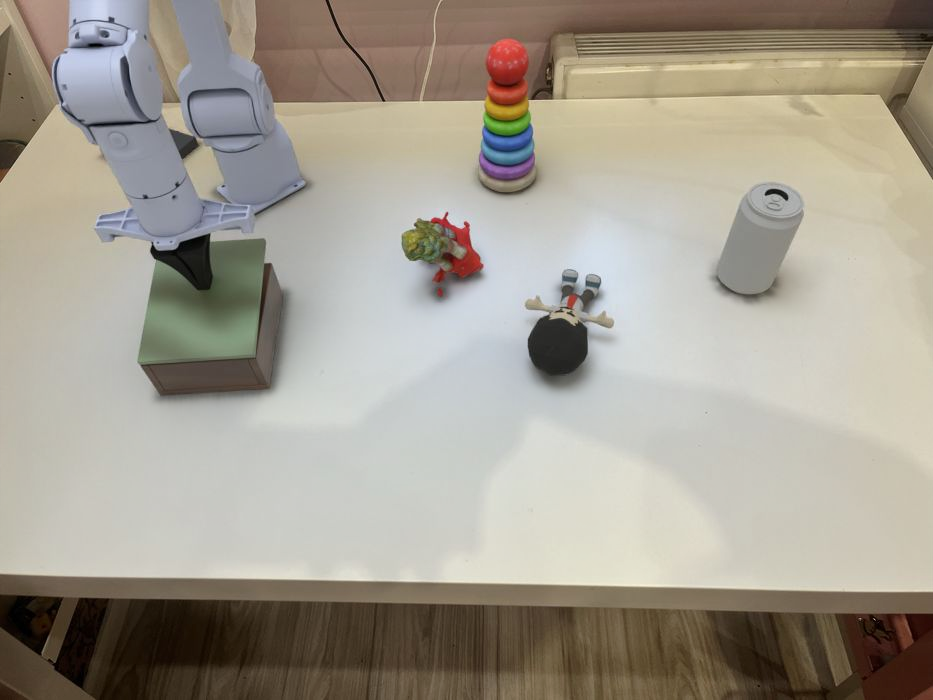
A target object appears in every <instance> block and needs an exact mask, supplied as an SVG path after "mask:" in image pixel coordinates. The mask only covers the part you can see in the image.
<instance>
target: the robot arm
mask: <svg viewBox="0 0 933 700" xmlns="http://www.w3.org/2000/svg"><path fill="white" fill-rule="evenodd" d="M68 1H69V2H68V35H67V36H68V38H67V41H68V43H67V47H66V48H64V49H63V50H62V52H63V53H61V54H60V55H57V56H56V57H55V58H54V60H53V63H52V66H51V79H52V86H53V89H54V92H55V96H56V98H57V101H58V103H59V106H58V107H59V110H60V111H61V113H62V114H63V116H64V117H65V119H66V120H68V122H69V123H71V124H72V125H73V126H75V127H77V128H79V129H80V130H81V132H82V133H83V135H84V137H85V139H86V140H87V143H90V144H91V145H94V146H97V147H98V148H99V150H100V149H101V150H100V152H101V151H102V152H101V153H103V154H102V156H103V155H104V156H103V157H104V158H105V160H106V163H107V165H108V167H109V168H110V170H111V171H112V173H113V175H114V177H115V179H116V181H117V183H118V185H119V186H120V188H121V190H122V192H123V194H124V195H125V197H126V199H127V201H128V203H129V205H130V207H129V208H125V209H121V210H117V211H113V212H108V213H107V212H106V213H99V214H98V216H97V218H96V220H95V223H94V225H93V230H94V231H95V233H96V235H97V236H98V238H99V240H100V241H101V243H112V242H114V241H115V238H131V239H136V240H140V241H145V242H150V243H151V246H150V248H149V253H150V255H151V257H152V258H153V259H154V260H155V261H156V260H158V261H161V262H163V263H165V264H167V265H168V266H170V267H172V268H173V269H175V270H176V271H177V272H179V273H180V274H181V275H182V276H183V277H185V278H186V279H187V280H188V281H189V282H190V283H191V284H192V285H193V286H194V287H195V288H196V289H197V290H209V289H210V287H211V283H212V279H213V274H212V270H211V264H210V242H211V237H212V233H216V232H221V231H222V232H223V231H238V230H239V231H241V233H242V234H244V235H246V234H254V231H255V227H256V220H257V219H256V216H255V214H257V213H259V212H261V211H263V210H264V209H266V208H268V207H270V206H271V205H273V204H275V203H277V202H279V201H281V200H282V199H284V198H286V197H287V196H289V195H291V194H293V193H295V192H297V191H298V190H300V189H302V188H304V187H305V186H306V181H305V180H304V179H303V177H302V174H301V171H300V168H299V163H298V159H297V156H296V152H295V149H294V145H293V142H292V139H291V138H290V136H289V133H288V132H287V130H286V128H285V127H284V126H283V124H282V123H281V122H280V121H279V120H278V119H277V118H276V115H275V114H276V113H275V112H276V111H275V105H274V99H273V95H272V91H271V89H270V88H269V86H268V84H267V82H266V79H265V75H264V72H263V71H262V69H261V66H260V65H258V64H257V63H256V62H253V61H251V60H249V59H248V58H246V57H243V56H241V55H240V54H237V53H236V52H235V51H233V49H232V45H231V41H230V37H229V35H228V30H227V27H226V22H225V19H224V15H223V12H222V8H221V4H220V1H219V0H170V2H171V5H172V8H173V12H174V14H175V17H176V18H175V19H176V20H177V24H178V27H179V30H180V33H181V36H182V40H183V43H184V45H185V49H186V51H187V55H188V58H189V63H188V64H187V65H186V66H184V67H183V69H182V70H181V72H180V74H179V75H178V79H177V83H176V89H177V93H178V96H179V101H180V110H181V115H182V120H183V123H184V125H185V127H186V129H187V131H188V132H189V133H190V135H191V136H194V137H195V138H196V139H197V140H199V139H202V141H203V143H204V146H205V147H210V148H211V150H212V153H213V155H214V158H215V160H216V163H217V166H218V169H219V171H220V174H221V176H222V179H223V182H224V183H221V184H220V185H218V186H217V187H216V191H217V193H218V194H220V195H221V196H222V197H223V198H224V199H226V201H228V202H229V203H228V202H223V201H218V200H212V199H207V198H201V197H200V196H199V195H198V193H197V191H196V188H195V186H194V184H193V181H192V180H191V177H190V174H189V173H188V170H187V168H186V165H185V163H184V161H183V158H181V156H180V154H179V152H178V149H177V147H176V145H175V142H174V140H173V138H172V135H171V133H170V131H169V129H170V128H169V127H168V124H167V122H166V120H165V117H164V115H163V112H162V111H163V106H164V105H163V104H164V92H163V91H164V90H163V83H162V79H161V75H160V72H159V69H158V60H157V59H158V58H157V56H156V51H155V49H154V48H153V47H152V46H151V45H150V0H68ZM168 128H169V129H168Z"/></svg>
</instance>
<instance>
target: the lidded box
mask: <svg viewBox="0 0 933 700" xmlns="http://www.w3.org/2000/svg"><path fill="white" fill-rule="evenodd" d="M283 298H284V293H283V290H282V288H281V285H280V282H279V280H278V276H277V274H276V271H275V268H274V266H273V263H272V262H266V263H265V262H264V271H263V281H262V292H261V302H260V313H259V324H258V334H257V345H256V355H255V358H240V359H224V360H209V361H193V362H177V363H161V364H146V365H140V364H139V366H140V368H141V369H142V371H143V372H144V373H145V375H146V377H147V378H148V379H149V381H150V382H151V384H152V385H153V386H154V388H155V390H156V391H157V393H158V394H159V395H160V396H171V395H188V394H202V393H204V394H205V393H217V392H233V391H234V392H235V391H251V390H265V389H267V390H268V389H270V387H271V386H270V385H271V379H272V373H273V372H272V371H273V365H274V364H273V363H274V360H275V351H276V345H277V338H278V331H279V324H280V317H281V311H282V304H283Z"/></svg>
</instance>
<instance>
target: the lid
mask: <svg viewBox="0 0 933 700" xmlns="http://www.w3.org/2000/svg"><path fill="white" fill-rule="evenodd" d="M266 249H267V240H266V238H263V237H262V238H247V239H234V240H233V239H231V240H230V239H229V240H215V241H210V264H211V270H212V274H213V279H212V283H211V287H210V289H209V290H197V289H196V288H195V287H194V286H193V285H192V284H191V283H190V282H189V281H188V280H187V279H186V278H185V277H183V276H182V275H181V274H180V273H179V272H177V271H176V270H175V269H173V268H172V267H170V266H168V265H167V264H165V263H163V262H161V261H158V260H155V263H154V267H153V273H152V279H151V285H150V290H149V294H148V295H149V296H148V301H147V305H146V306H147V307H146V312H145V317H144V323H143V328H142V333H141V339H140V343H139V350H138V355H137V361H136V362H137V363H138V365H139V366H140V365H146V364H161V363H177V362H193V361H209V360H224V359H240V358H255V355H256V345H257V334H258V324H259V313H260V302H261V292H262V281H263V271H264V263H265V259H266Z"/></svg>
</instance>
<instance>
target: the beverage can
mask: <svg viewBox="0 0 933 700" xmlns="http://www.w3.org/2000/svg"><path fill="white" fill-rule="evenodd" d="M804 207H805V200H804V197H803V196H802V195H801V193H800V192H799V191H798V190H797V189H795V188H793V187H792V186H790V185H788V184H785V183H781V182H776V181H764V182H758V183H756V184H754V185H752V186H751V187H750V188H749V189H748V191H747V193H746V194H744V195H743V196H742V197H741V200H740V202H739V204H738V208H737V211H736V213H735V216H734V218H733V222H732V224H731V227H730V230H729V233H728V235H727V237H726V241H725V243H724V247H723V249H722V251H721V254H720V257H719V260H718V264H717V265H716V275H717V278H718V279H719V281H720V282H721V283H722V284H723V285H724V286H725V287H727V288H728V290H731V291H733V292H735V293H737V294H742V295H757V294H761V293H764V292H766V291H767V290H768V289H770V288H771V287H772V285H773V283H774V281H775V279H776V276H777V275H778V273H779V270H780V268H781V266H782V265H783V262H784V259H785V257H786V255H787V253H788V251H789V249H790V247H791V244H792V243H793V240H794V238H795V236H796V234H797V231H798V230H799V227H800V225H801V223H802V221H803V219H804V215H805V213H804V212H805V211H804Z"/></svg>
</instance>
